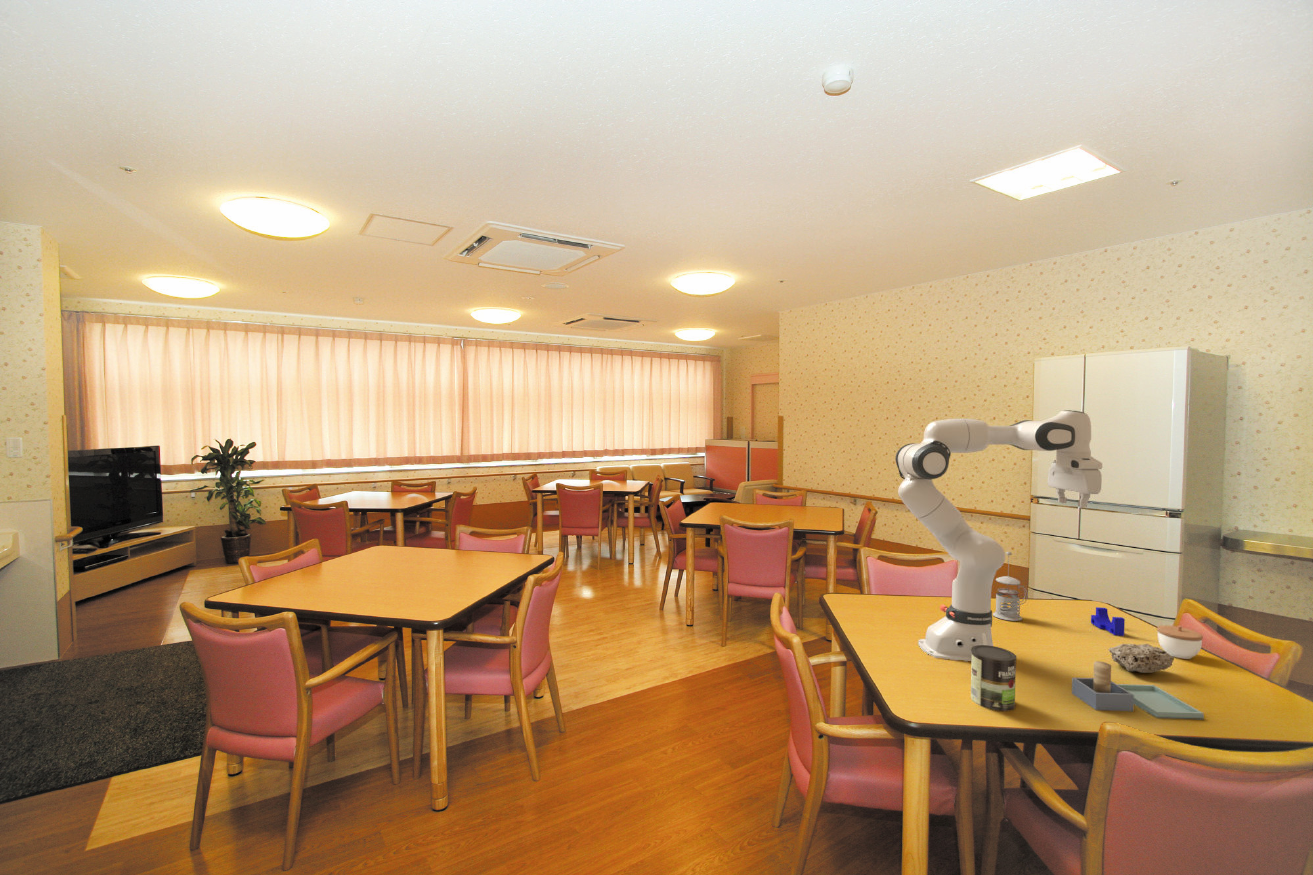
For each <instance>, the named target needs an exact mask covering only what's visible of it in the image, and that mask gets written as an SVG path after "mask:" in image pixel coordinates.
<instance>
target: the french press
mask: <svg viewBox="0 0 1313 875" xmlns="http://www.w3.org/2000/svg"><path fill="white" fill-rule="evenodd" d="M1005 556H1008V560H1007V561H1008V563H1007V564H1008V565H1007V566H1008V567H1007V575H1006V576H1005V575H1004V576H1000V577H996V578H995V581H996V582H998V583H1000V584H1004V585H1007V586H1017V589H1019V590H1020V589H1021V587H1022V589H1023V592H1024V597H1023V599H1022V600H1021V598H1020V596H1019V594H1020V593H1019V591H1018V590H1015V589H1010V588H997V590H996V591H997V592H996V593H995V611H994V612H992V616H994V617H995V618H998V619H1001V620H1006V621H1012V622H1016V621H1022V620H1023V617H1022V616H1021V615H1020V614H1021V613H1020V611H1021V605H1023V604H1025V603H1026V602H1027V600H1028V596H1029V593H1028V590H1027V588H1025V586H1023V585H1021V581H1020V580H1019V579H1017V578H1014V577H1012V576H1010V575H1009V573H1010V556H1012V552H1011V551H1005ZM1008 596H1009V597H1008ZM1025 598H1026V599H1025ZM1020 600H1021V601H1020Z"/></svg>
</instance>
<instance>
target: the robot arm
mask: <svg viewBox="0 0 1313 875" xmlns="http://www.w3.org/2000/svg"><path fill="white" fill-rule="evenodd" d="M1091 423H1092V422H1091V417H1090V416H1089V414H1087V413H1086V412H1083V411H1080V410H1071V409H1069V410H1068V409H1067V410H1061V411H1059V413H1057V414H1056V415H1054V416H1052V417H1049V418H1046V419H1044V420H1025V419H1024V420H1020V421H1018V422H1015V423H1014V424H1011V425H989V424H988V423H987V422H986V421H984V420H980V419H974V418H947V419H941V420H940V419H939V420H934V421H931V422H930V423H928V424H927V425H926V427H925V429H924V432H923V440H922V441H921V442H920V443H914V442H913V443H908V444H905V445H903V446H901V447H900V448H899V449H898V450H897V452H896V453H895V459H894V460H895V463H896V467H897V469H898V473H899V476H900V478H901V479H902V482H901V483H900V484H899V486H898V490H897V493H898V497H899V498H900V500H901V502H902V503H903V504H904V506H905V507H906V508H907V509H908V510H909V512H910V513H911V514H912V515H913V516H914V517H915V518H916V519H917V520H918V521H919V522H920V523H921V524H922V525H923V526H924V527H925V528H926V529H927V530H928V531H929V532H930V533H931V534H932V536H934V537H935V539H936V540H937V541H938V543H939V544H940V546H941V547H942V548H943V549H944V550H945V551H946V552H947V554H948V555H949V556H951V558H953V559H954V560H956V561H958V562H959V568H958V572H957V575H956V577H955V578H954V579H953V580H952V582H951V604H950V605H949V607H948V606H946V605H945V604H941V605H940V606H939V610H940V611H941V612H943V613H945V616H943V617H942V618H940V619H939V620H938V621H936V622H934V623H932V624H931V625H929V626H928V627H927V629H926V632H925V638H919V639H918V640H917V645H919V646H920V647H919V646H918V647H919V648H921V649H922V651H923V653H925V652H926V653H927V654H926V653H925V654H926V655H928V654H929V655H928V656H930V655H931V656H930V657H932V656H933V658H934V657H935V658H934V659H938V658H943V659H942V660H948V659H950V660H949V661H958V660H964V661H963V662H968V661H972V652H971V648H972V647H973V646H977V645H989V646H994V643H993V637H992V636H993V635H992V627H993V610H992V609H991V607H992V606H991V605H992V603H991V601H992V587H993V582H994V579H995V577H996V574H997V571H998V570H999V569H1001V568H1002V566H1004V564H1005V561H1006V551H1005V550H1004V547H1003V546H1002V545H1001V544H1000V543H999V542H997V541H996V540H995V539H994V538H992V537H991V536H987V535H985V534H982V533H980V532H978V531H977V530H975V529H973V528H972V527H971V526H970V525H969V524H968V523H967V521H966V519H965V518H964V517H963V516H962V512H961V511H960V510H959V509H958V508H957V507H956V506H955V505H953V503H952V502H951V500H949V499H948V498H947V497H946V496H945V495H944V494H943V493H942V492H941V491H939V489H938V488H937V487H936V486H935V484H934V482H933V480H935V479H938V478H941V477H942V476H944V475H945V474H946V473H947V471H948V469H949V465H950V459H951V456H952V454H953V453H954V454H955V453H957V454H958V453H959V454H964V453H965V454H968V453H977V452H983V451H984V450H986V449H987V448H988V446H990V445H995V446H996V445H1000V446H1001V445H1008V446H1009V445H1010V446H1012V447H1015V448H1017V449H1019V450H1023V451H1040V452H1041V451H1042V452H1053V451H1056V453H1055V454H1056V457H1055V459H1054V460H1053V461H1052V463H1051V465H1050V467H1049V468H1048V475H1047V485H1048V487H1049V488H1053V489H1055V493H1056V495H1057V497H1058V498H1057V499H1058V500H1057V501H1058V503H1060V504H1066V503H1067V502H1068V501H1067V500H1068V498H1067V496H1066V495H1065V492H1066V491H1070V492H1075V493H1079V496H1080V499H1079V500H1078V501H1077V507H1079V508H1087V506H1088V501H1089V500H1090V498H1091V495H1099V494H1100V493H1101V491H1102V478H1103V477H1102V472H1101V470H1102V469H1103V462H1101V461H1100V460H1098V459H1096V458H1094V457H1093V456H1091V454H1092V452H1091V448H1090V443H1091V440H1092V425H1091ZM921 649H920V650H921Z"/></svg>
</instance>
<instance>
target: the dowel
mask: <svg viewBox="0 0 1313 875" xmlns="http://www.w3.org/2000/svg"><path fill="white" fill-rule="evenodd" d="M1093 678H1094V682H1093V690H1094V691H1095V692H1097V693H1111V681H1112V665H1111V664H1110V663H1107V662H1104V661H1096V660H1095V661H1094V662H1093Z"/></svg>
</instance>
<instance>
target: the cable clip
mask: <svg viewBox="0 0 1313 875" xmlns="http://www.w3.org/2000/svg"><path fill="white" fill-rule="evenodd" d="M1125 621H1126V619H1125V618H1124V617H1121V616H1112V619H1111V620H1110V617H1109V613H1108V608H1106V607H1098V606H1097V607H1095V614H1090V623H1091V624H1092V625H1093V626H1095V627H1097V628H1098V629H1100V630H1106V631H1108V633H1111V635H1113V636H1122V637H1125V623H1126V622H1125Z"/></svg>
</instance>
